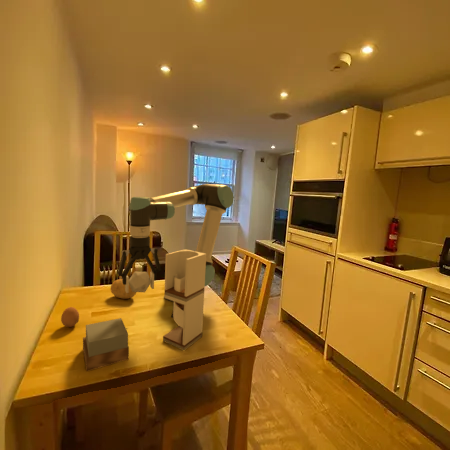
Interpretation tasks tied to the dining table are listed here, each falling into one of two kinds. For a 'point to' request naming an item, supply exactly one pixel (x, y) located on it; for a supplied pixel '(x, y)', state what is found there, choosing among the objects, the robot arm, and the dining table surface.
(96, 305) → the dining table surface
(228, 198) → the robot arm
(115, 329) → the block
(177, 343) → the display case
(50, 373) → the dining table surface
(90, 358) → the block
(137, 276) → the die
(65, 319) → the egg
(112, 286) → the potato
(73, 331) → the dining table surface
